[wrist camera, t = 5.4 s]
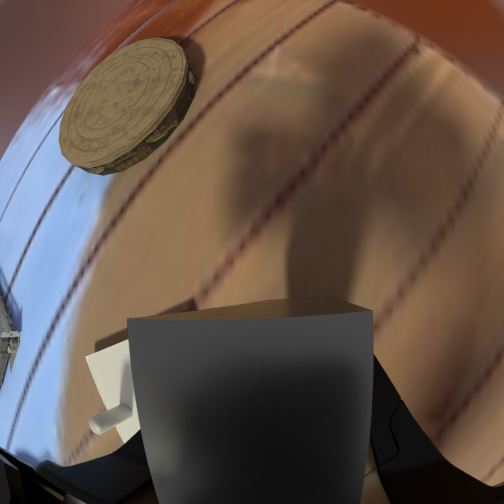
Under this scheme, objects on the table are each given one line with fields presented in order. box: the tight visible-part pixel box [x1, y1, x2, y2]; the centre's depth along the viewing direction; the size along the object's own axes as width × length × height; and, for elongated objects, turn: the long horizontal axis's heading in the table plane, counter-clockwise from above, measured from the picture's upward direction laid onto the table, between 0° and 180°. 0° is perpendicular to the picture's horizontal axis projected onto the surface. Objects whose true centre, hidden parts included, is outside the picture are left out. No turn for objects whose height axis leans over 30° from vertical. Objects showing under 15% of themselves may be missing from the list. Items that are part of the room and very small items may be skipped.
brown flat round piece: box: [59, 38, 197, 176], centre depth 24 cm, size 16×16×3 cm
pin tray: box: [86, 339, 140, 444], centre depth 17 cm, size 16×11×5 cm
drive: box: [127, 296, 373, 504], centre depth 10 cm, size 5×4×13 cm
